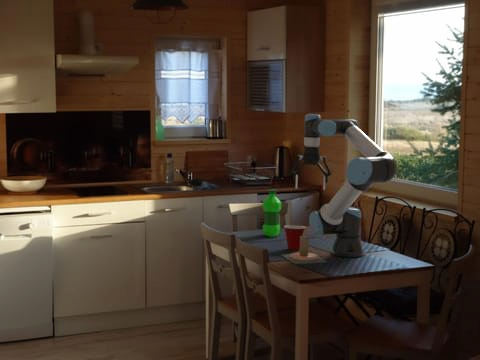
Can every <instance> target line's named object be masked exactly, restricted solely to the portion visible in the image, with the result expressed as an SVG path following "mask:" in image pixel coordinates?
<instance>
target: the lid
mask: <svg viewBox="0 0 480 360" xmlns="http://www.w3.org/2000/svg"><path fill="white" fill-rule="evenodd" d="M309 238H310V236H308V235H303V236H300V250H299V252H292V253H289V254H290V258H291V259H293V260H297V261H314V260H317V259H318V254H316V253H314V252H309V243H310V241H309V240H310V239H309Z"/></svg>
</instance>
